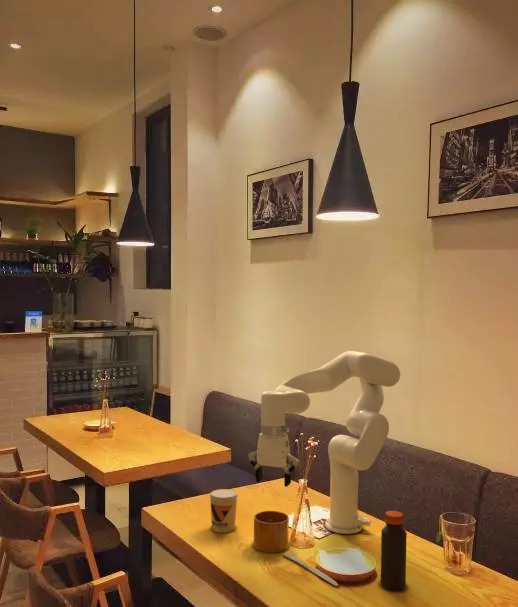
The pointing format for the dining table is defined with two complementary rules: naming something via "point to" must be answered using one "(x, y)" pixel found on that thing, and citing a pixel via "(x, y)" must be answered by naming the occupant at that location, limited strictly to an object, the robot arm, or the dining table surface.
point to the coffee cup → (223, 510)
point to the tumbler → (271, 531)
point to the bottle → (393, 552)
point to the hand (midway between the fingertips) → (273, 483)
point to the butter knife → (310, 568)
